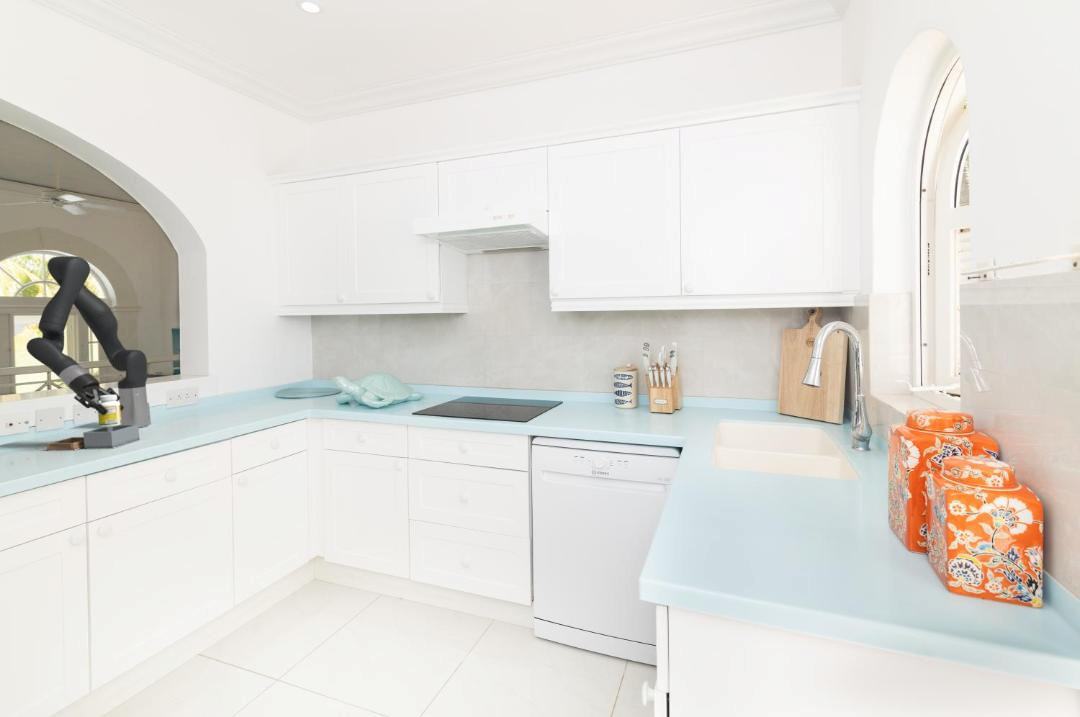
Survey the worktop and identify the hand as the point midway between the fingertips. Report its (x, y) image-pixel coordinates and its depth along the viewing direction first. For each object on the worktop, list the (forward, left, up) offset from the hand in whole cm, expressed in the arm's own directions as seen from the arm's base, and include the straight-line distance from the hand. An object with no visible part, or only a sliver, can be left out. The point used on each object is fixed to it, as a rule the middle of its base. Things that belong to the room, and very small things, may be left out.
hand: (113, 411), depth 183 cm
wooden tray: (+3, -14, -12) cm, 19 cm away
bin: (0, -2, -12) cm, 12 cm away
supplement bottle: (0, -2, -6) cm, 6 cm away
